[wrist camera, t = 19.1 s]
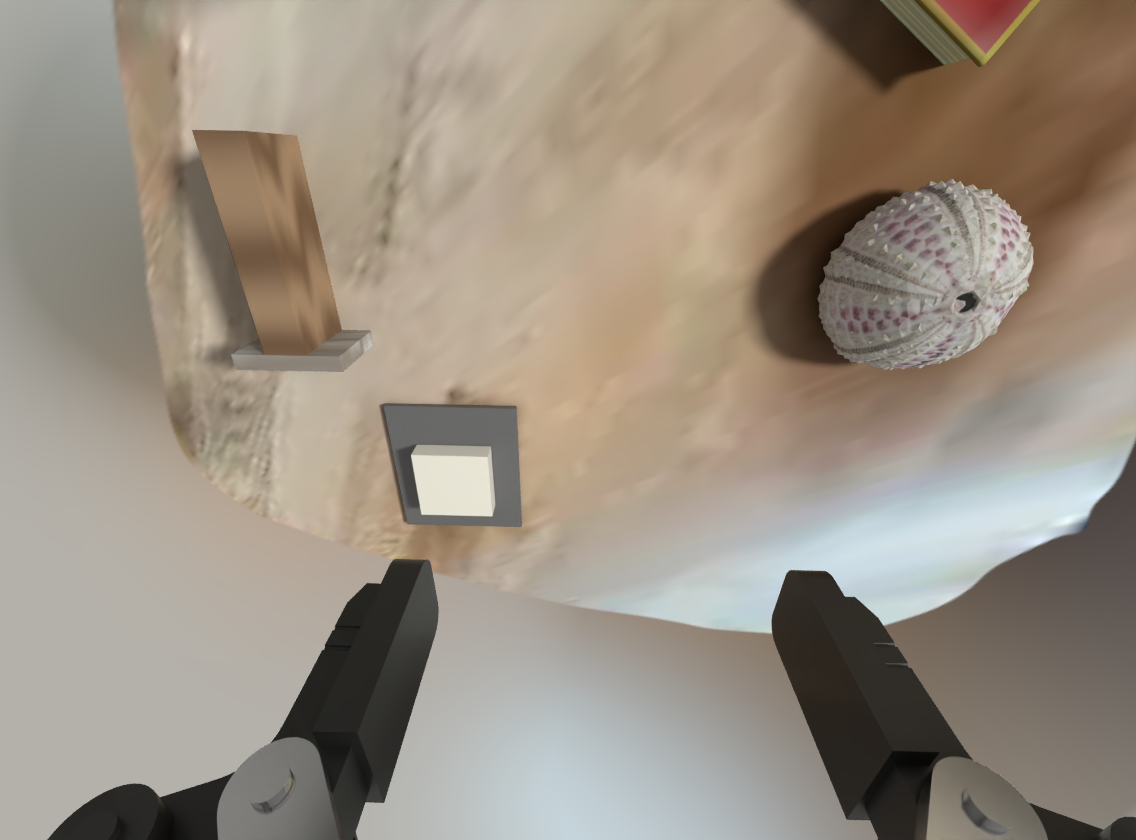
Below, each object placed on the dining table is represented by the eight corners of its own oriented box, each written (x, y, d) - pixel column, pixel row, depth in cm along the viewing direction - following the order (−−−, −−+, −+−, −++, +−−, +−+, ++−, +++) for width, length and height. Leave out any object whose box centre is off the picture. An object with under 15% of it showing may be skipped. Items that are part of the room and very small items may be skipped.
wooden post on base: (218, 134, 32) (149, 129, 27) (332, 136, 32) (285, 131, 27) (281, 342, 40) (236, 369, 35) (374, 344, 40) (342, 371, 34)
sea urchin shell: (1026, 250, 35) (1138, 271, 28) (879, 385, 41) (942, 431, 34) (911, 138, 32) (1005, 130, 25) (768, 302, 37) (812, 334, 30)
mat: (385, 403, 42) (383, 405, 42) (516, 406, 42) (515, 408, 42) (408, 520, 49) (407, 524, 49) (521, 523, 49) (521, 526, 49)
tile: (410, 455, 42) (421, 514, 46) (487, 456, 42) (492, 516, 46) (417, 443, 44) (427, 502, 47) (491, 445, 44) (495, 504, 47)
